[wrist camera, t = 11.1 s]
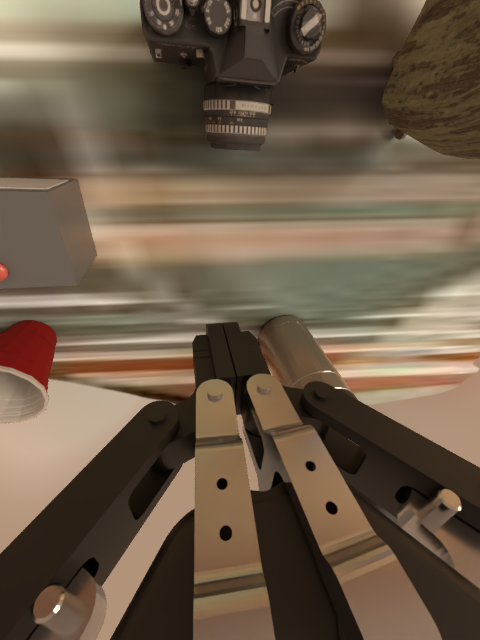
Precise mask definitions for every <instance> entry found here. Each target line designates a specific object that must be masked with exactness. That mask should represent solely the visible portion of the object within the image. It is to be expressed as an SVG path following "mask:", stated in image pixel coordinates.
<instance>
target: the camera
mask: <svg viewBox="0 0 480 640" xmlns="http://www.w3.org/2000/svg"><path fill="white" fill-rule="evenodd" d="M140 11H141V20H142V28H143V32H144V36H145V38H146V40H147V42H148V45H149V49H150V52H151V55H152V57H153V60H154V62H165V63H173V64H180V66H181V69H188V68H189V67H191V65H193V66H200V67H202V68H203V70H204V74H205V78H206V82H207V85H206V86H204V101H203V110H204V111H205V118H206V124H205V131H206V132H208V136H207V140H209V141H210V142H211V147H213V148H220V149H232V150H256V151H259V150H260V146H261V145H262V144H264V141H265V136H266V135H267V120H268V119H269V115H270V114H271V106H272V105H273V104H270V100H271V90H270V89H269V88H270V87H274V86H276V84H277V83H278V82H280V78H281V75H285V74H287V73H288V72H291V71H293V70H294V73H297V70H298V67H300V66H302V65H306V64H308V63H310V62H312V61H314V60H315V59H316V57H317V56H318V54H319V52H320V49H321V43H322V39H323V37H324V33H325V29H326V15H325V11H324V9H323V7H322V5H321V3H320V2H319V1H318V0H140Z"/></svg>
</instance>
